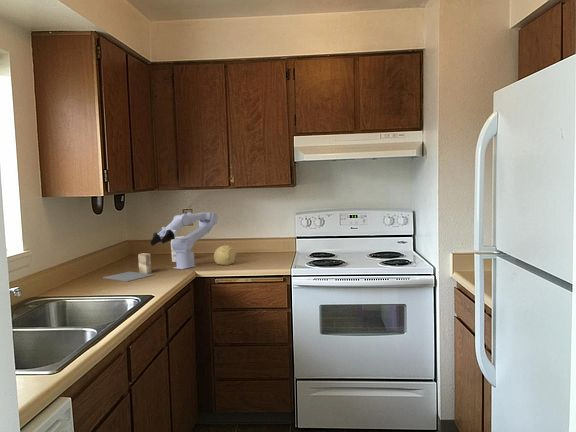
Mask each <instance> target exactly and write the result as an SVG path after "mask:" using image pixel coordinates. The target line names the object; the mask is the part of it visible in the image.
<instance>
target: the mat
mask: <svg viewBox="0 0 576 432" xmlns="http://www.w3.org/2000/svg"><path fill="white" fill-rule="evenodd" d="M153 276H155V274H154V273H149V274H145V273H139V272H135V271H125V272H122V273H118V274H112V275H108V276H103V277H102V279H105V280H106V279H107V280H113V281H119V282H120V281H121V282H132V281H136V280H140V279H144V278H148V277H153Z"/></svg>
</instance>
